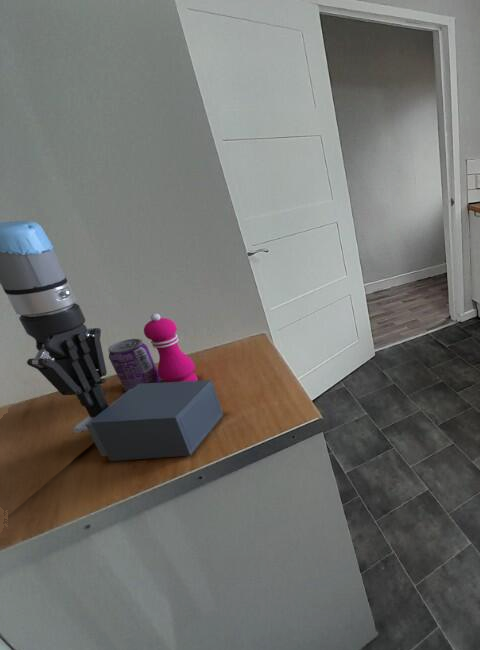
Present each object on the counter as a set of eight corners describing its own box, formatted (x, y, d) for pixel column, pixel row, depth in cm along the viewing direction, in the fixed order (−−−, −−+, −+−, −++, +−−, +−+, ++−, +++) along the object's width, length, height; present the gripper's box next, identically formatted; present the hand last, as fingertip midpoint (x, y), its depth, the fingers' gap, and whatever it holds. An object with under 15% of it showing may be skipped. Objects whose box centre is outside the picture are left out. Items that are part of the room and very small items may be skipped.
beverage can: (161, 374, 107) (144, 334, 102) (162, 387, 102) (144, 346, 97) (125, 384, 103) (106, 343, 98) (125, 398, 98) (104, 356, 93)
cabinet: (110, 461, 80) (90, 422, 76) (153, 419, 92) (138, 383, 88) (190, 455, 82) (175, 417, 78) (223, 415, 93) (211, 380, 89)
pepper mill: (165, 396, 99) (133, 324, 91) (164, 382, 104) (134, 312, 96) (201, 385, 103) (174, 315, 95) (198, 372, 108) (172, 304, 100)
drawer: (73, 458, 80) (55, 426, 76) (117, 419, 90) (103, 390, 87) (175, 451, 82) (163, 420, 79) (207, 414, 92) (197, 385, 89)
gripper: (38, 324, 68) (95, 435, 77) (100, 294, 80) (143, 393, 89) (-14, 326, 67) (51, 438, 76) (57, 295, 79) (105, 396, 88)
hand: (100, 414), depth 83 cm, fingers closed
